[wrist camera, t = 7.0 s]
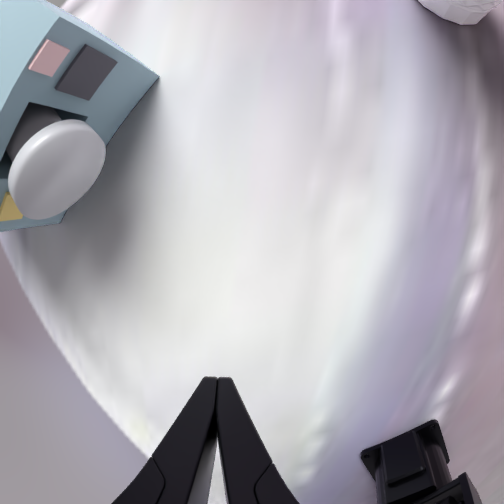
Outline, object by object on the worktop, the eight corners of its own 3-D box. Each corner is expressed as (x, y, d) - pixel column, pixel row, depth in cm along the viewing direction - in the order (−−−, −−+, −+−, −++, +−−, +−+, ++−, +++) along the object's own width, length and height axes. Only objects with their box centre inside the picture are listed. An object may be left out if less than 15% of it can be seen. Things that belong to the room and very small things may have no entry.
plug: (123, 139, 16) (47, 122, 10) (74, 215, 17) (1, 224, 12) (41, 53, 17) (-10, 35, 11) (8, 111, 18) (-43, 104, 12)
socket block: (161, 78, 18) (61, 17, 8) (61, 225, 22) (-40, 242, 12) (87, 23, 18) (11, -17, 9) (11, 144, 22) (-67, 140, 12)
